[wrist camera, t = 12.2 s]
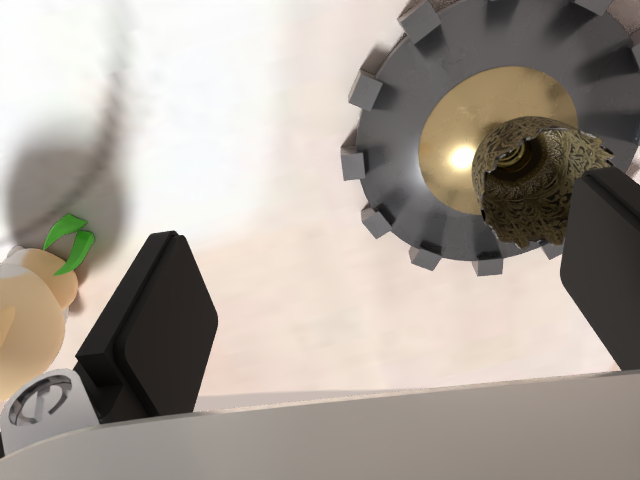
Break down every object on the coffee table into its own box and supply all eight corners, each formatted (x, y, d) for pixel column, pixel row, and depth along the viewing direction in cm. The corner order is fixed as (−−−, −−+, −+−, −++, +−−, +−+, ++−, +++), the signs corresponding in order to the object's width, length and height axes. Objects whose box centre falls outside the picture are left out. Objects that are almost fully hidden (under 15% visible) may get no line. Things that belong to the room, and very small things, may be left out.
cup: (567, 87, 29) (636, 123, 23) (551, 187, 33) (606, 245, 26) (452, 100, 30) (486, 139, 23) (450, 197, 34) (477, 255, 27)
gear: (321, -4, 28) (320, -2, 27) (695, -65, 26) (718, -67, 24) (356, 275, 40) (357, 287, 38) (618, 250, 37) (630, 262, 36)
